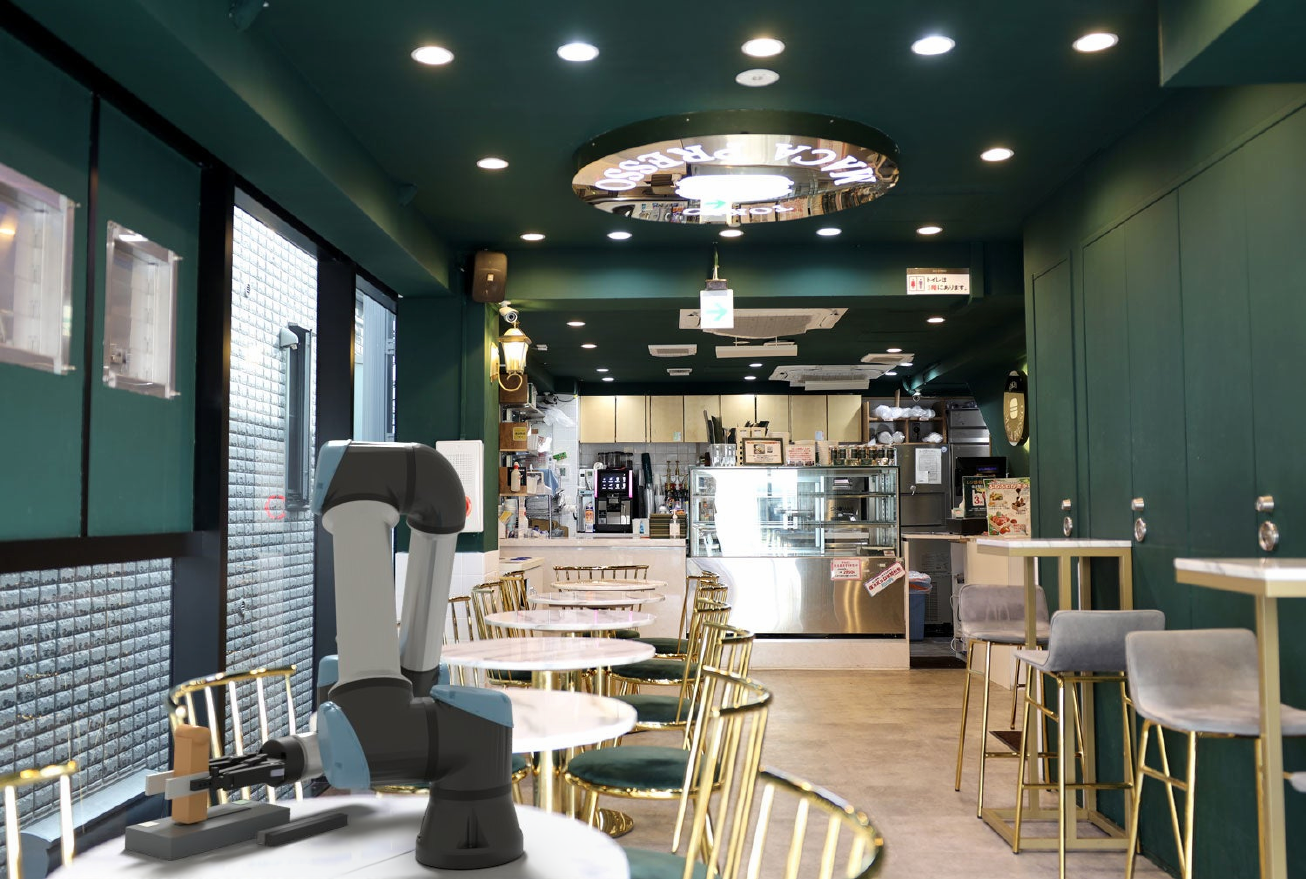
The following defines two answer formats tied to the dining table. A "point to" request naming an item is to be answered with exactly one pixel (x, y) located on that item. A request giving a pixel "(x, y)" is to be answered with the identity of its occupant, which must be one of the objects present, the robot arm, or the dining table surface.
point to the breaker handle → (191, 770)
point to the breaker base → (205, 829)
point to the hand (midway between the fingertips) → (157, 787)
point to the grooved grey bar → (302, 828)
